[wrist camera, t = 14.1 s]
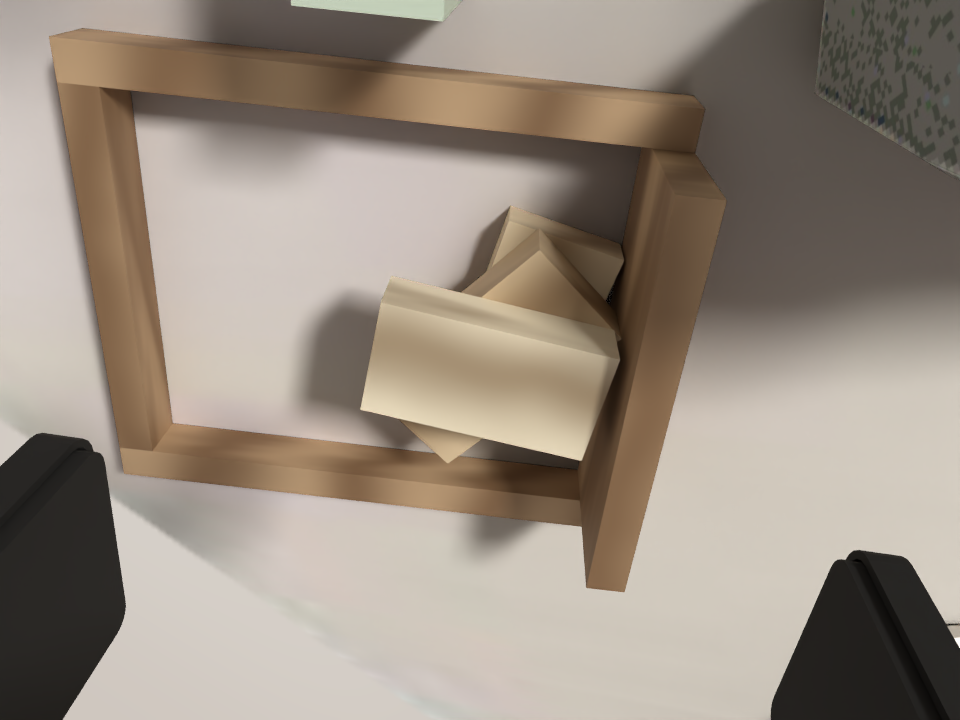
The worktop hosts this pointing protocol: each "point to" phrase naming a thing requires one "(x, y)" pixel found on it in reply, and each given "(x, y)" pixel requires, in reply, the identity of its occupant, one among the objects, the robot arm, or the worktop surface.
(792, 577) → the worktop surface
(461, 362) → the offcut top
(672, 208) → the frame
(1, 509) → the robot arm
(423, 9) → the panel
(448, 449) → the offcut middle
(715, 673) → the worktop surface
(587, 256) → the offcut bottom
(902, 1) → the decorative stone tablet
